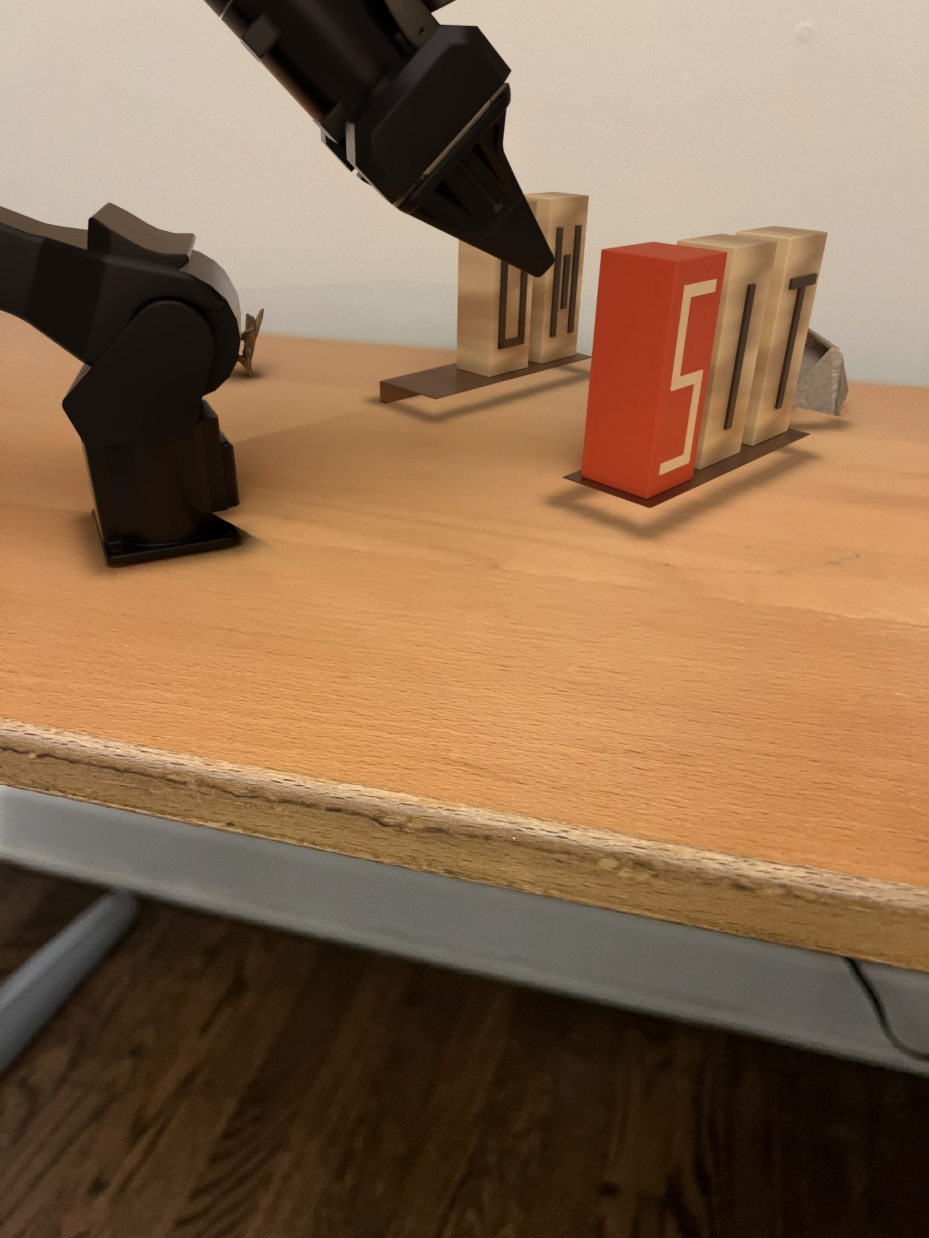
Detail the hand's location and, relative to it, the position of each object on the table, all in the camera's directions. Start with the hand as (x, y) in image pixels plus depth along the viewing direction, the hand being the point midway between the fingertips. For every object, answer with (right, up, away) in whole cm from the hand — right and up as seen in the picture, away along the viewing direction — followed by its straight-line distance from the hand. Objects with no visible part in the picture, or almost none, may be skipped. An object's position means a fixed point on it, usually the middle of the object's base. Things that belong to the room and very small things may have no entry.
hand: (520, 253), depth 44 cm
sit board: (+11, -9, +12) cm, 19 cm away
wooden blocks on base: (-1, +1, +28) cm, 28 cm away
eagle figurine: (-24, +2, +30) cm, 38 cm away
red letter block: (+7, -10, +7) cm, 14 cm away
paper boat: (+21, -2, +25) cm, 33 cm away
